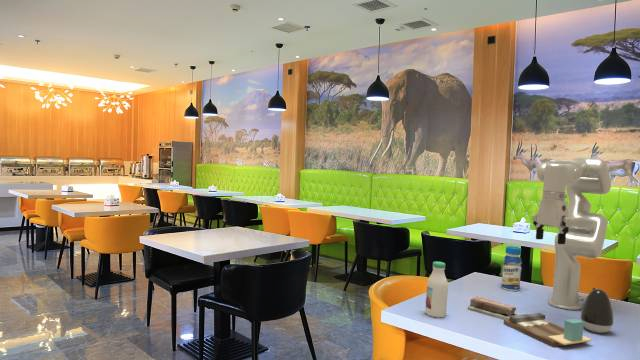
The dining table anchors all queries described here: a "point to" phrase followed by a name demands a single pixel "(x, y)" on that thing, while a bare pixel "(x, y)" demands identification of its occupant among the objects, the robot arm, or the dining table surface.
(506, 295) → the dining table surface
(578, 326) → the teal block on plate
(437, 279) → the milk bottle
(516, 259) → the beverage bottle
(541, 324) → the ticket board
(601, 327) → the brown egg-shaped diffuser
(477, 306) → the packaged product
